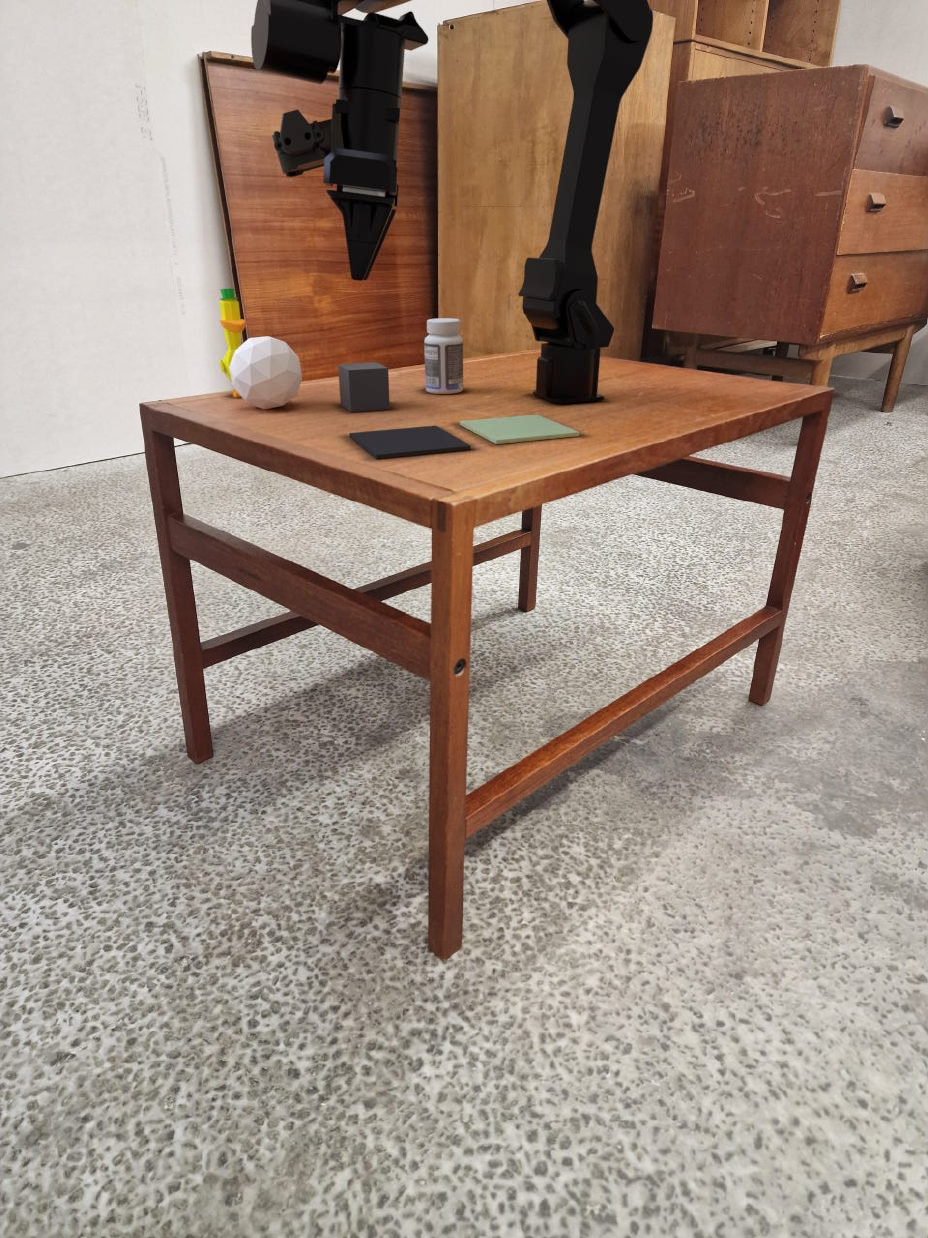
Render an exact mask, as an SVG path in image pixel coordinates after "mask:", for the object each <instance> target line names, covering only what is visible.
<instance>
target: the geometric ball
mask: <svg viewBox="0 0 928 1238" xmlns="http://www.w3.org/2000/svg"><path fill="white" fill-rule="evenodd" d="M229 370H230V375H231V380H232V382H231V384H232V388H233V390H234V389H235V390H236V391H237V393H238V394H239V395H240V396H241V397H240V398H242V400H244V402H245V403H246V404H248V405H250V406H253V407H256V408H258V409H262V410H265V411H266V410H270V409H276V408H280V407H284V406H285V405H286V404H287V403H289V402H290V401H291V400H292V399H293V398H295V397H296V396H297V395H298V393H299V390H300V388H301V387H300V386H301V384H302V382H303V372H302V367H301V361H300V357H299V356H298V355H297V354H296V353H295V351H293V349H292V348H291V347H290V346H289V344H288V343H287V342H286V341H283V340H281V339H278V338H275V337H272V336H269V335H266V336H265V335H264V336H256V337H248V339H246V340H245V341H244V342H243V343H241V346H240V347H239V348H238V349H237V350H236V351H235V352H234V355H233V358H232V361H231V363H230V366H229Z"/></svg>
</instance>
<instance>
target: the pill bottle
mask: <svg viewBox="0 0 928 1238" xmlns="http://www.w3.org/2000/svg"><path fill="white" fill-rule="evenodd" d="M460 330H461V320H460V319H459V318H451V317H439V318H429V319H427V320H426V332H427V334H428V335H427V336H426V337H424V342H423V343H424V345H423V346H424V348H423V349H424V350H423V351H424V380H425V381H424V382H425V383H424V385H425V391H426V392H428V393H429V394H434V395H453V394H459V393H462V392H463V390H464V339H463V337H462V336H461V335H459V333H460V332H461V331H460Z"/></svg>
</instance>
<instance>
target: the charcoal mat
mask: <svg viewBox="0 0 928 1238" xmlns="http://www.w3.org/2000/svg"><path fill="white" fill-rule="evenodd" d="M348 436H349V438H350V439H351V440H352V441H354V442H355V443H356V444H358V446H360V448H362V449H364V450H365V451H366V452H367V453H369V454H370V455H371V456H372V457H373V458H375V459H376V460H381V459H392V458H402V457H411V456H421V455H432V454H442V453H443V454H444V453H452V452H460V451H470V450H471V449H472V448H471V445H470V444H469V443H467V442H465V441H464V440H462V439H460V438H458V437H456V436H455V435H453V434H451V433H449V432H448V431H446V430H444V429H443V428H441V427H439V426H437V425H428V426H427V425H426V426H414V427H403V428H392V429H391V428H390V429H380V430H369V431H358V432H357V431H356V432H349V433H348Z"/></svg>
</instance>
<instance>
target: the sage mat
mask: <svg viewBox="0 0 928 1238" xmlns="http://www.w3.org/2000/svg"><path fill="white" fill-rule="evenodd" d="M459 425H460V426H462V427H463V428H465V429H467V430H468V431H471V432H472V433H475V434H476V435H478V436H480V437H482V438H484V439H485V440H487V441H489V442H491V443H492V444H494V445H502V444H512V443H525V442H533V441H544V440H553V439H563V438H571V437H572V438H573V437H580V431H578V430H576V429H573V428H571V427H568V426H566V425H564V424H562V423H559V422H556V421H554V420H552V419H549V418H547V417H544V416H542V415H540V414H526V415H514V416H513V415H512V416H503V417H492V418H490V417H489V418H481V419H480V418H479V419H468V420H460V421H459Z"/></svg>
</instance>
